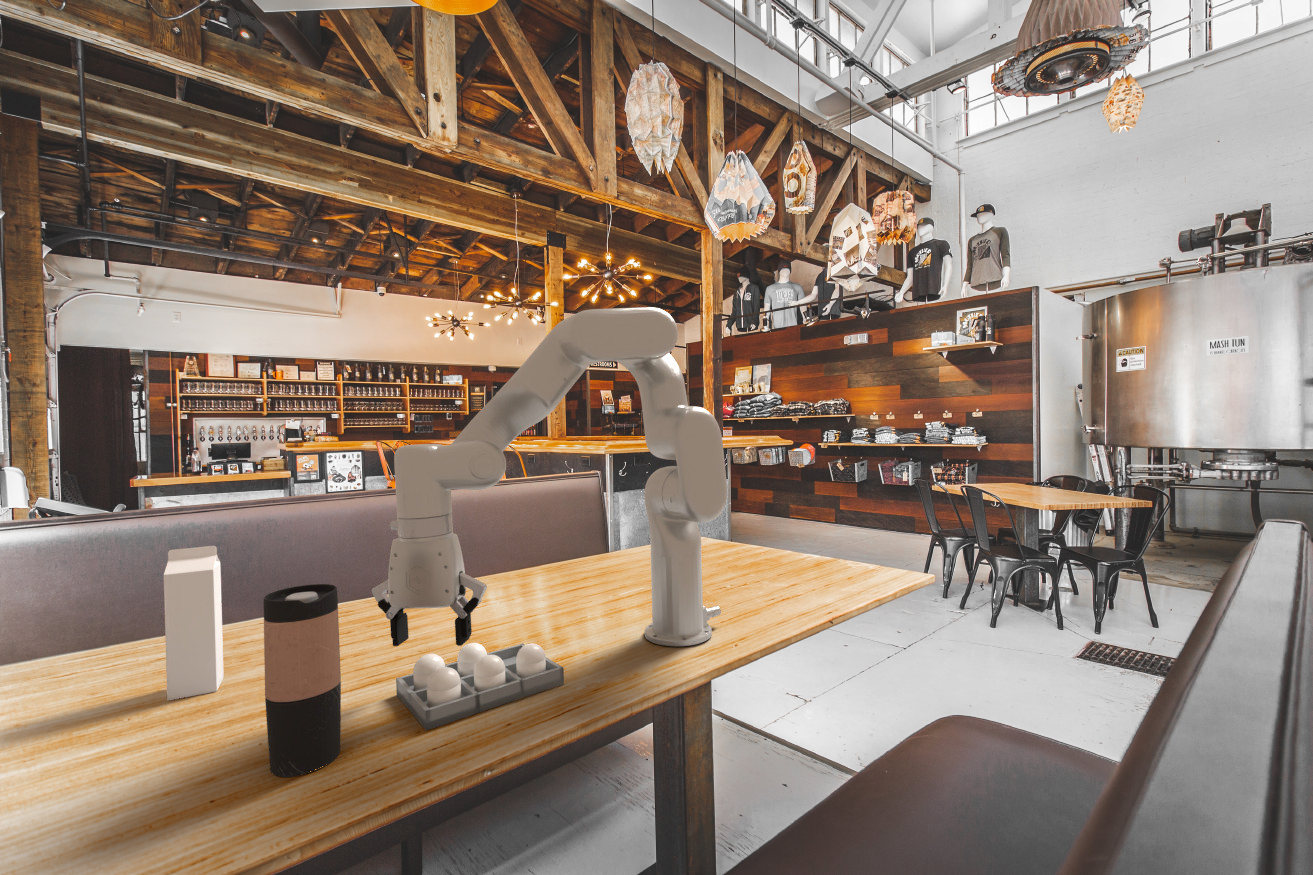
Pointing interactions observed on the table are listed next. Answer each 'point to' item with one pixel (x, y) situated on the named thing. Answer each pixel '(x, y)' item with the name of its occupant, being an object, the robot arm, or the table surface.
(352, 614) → the table surface
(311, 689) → the travel mug
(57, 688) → the table surface
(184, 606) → the milk
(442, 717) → the carton
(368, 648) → the table surface
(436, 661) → the egg
